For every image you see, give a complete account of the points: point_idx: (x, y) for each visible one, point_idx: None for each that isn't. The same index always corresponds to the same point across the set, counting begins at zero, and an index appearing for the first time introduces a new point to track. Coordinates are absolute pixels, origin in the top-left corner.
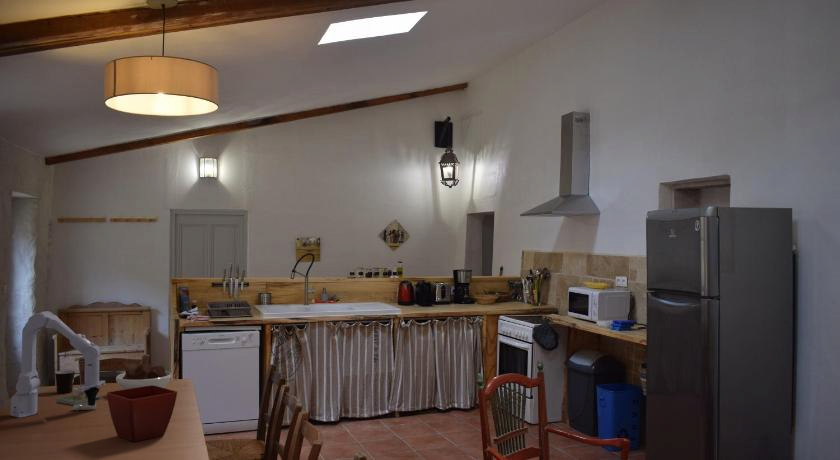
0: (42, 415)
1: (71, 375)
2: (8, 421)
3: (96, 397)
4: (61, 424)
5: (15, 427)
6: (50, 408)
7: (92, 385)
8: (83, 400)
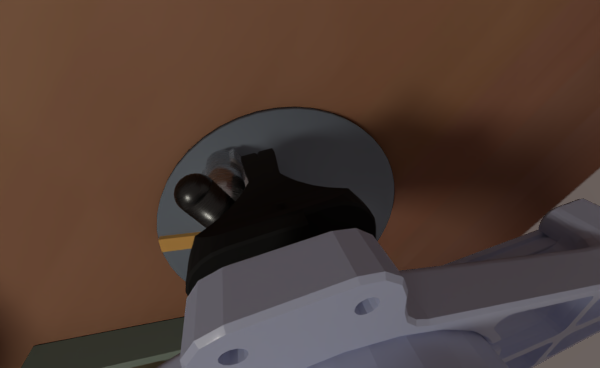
0: None
1: None
2: None
3: (216, 202)
4: (545, 39)
5: (562, 184)
6: None
7: (500, 304)
8: (169, 347)
